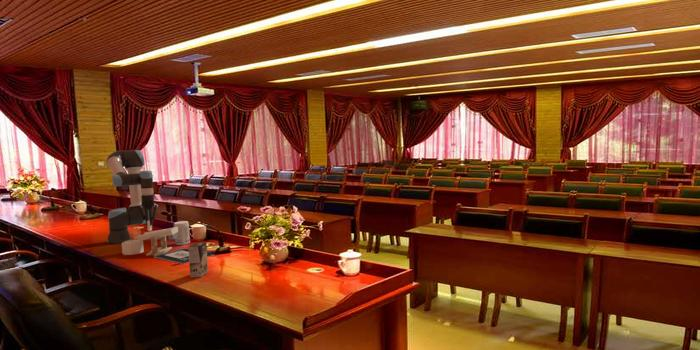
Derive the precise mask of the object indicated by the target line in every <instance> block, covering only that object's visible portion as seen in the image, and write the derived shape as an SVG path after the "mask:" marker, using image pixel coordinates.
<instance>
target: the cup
mask: <svg viewBox="0 0 700 350" xmlns="http://www.w3.org/2000/svg"><path fill="white" fill-rule="evenodd" d="M121 251H122V252H121V253H122V255H123V256H133V255H138V254H141V253H144V251H145V250H144V240H140V241H138V239H131V240H129V241H125V242H122V243H121Z"/></svg>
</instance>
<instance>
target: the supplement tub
mask: <svg viewBox="0 0 700 350" xmlns="http://www.w3.org/2000/svg"><path fill="white" fill-rule="evenodd" d="M174 227H178V232H177V235H178V237H177V238H175V239H174V243H175V245H177V246H184V245H188V244H190V243H191V237H190V224H189V221H187V220H181V221H176V222H174V223H173V228H174Z"/></svg>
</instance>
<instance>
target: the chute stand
mask: <svg viewBox="0 0 700 350" xmlns="http://www.w3.org/2000/svg"><path fill="white" fill-rule="evenodd" d="M150 244H151V246H150V247H151V250H150V251H149V252H147V253H146V254H145V255H146V256H147V257H149V256H154V255H159V254H161V253H163V254H164V253H165V252H170V251H171V250H172V249H173V247H172V246H168V244H167V236H163V237H162V238H160V247H158V240H157V237H156V238H151V239H150Z"/></svg>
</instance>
